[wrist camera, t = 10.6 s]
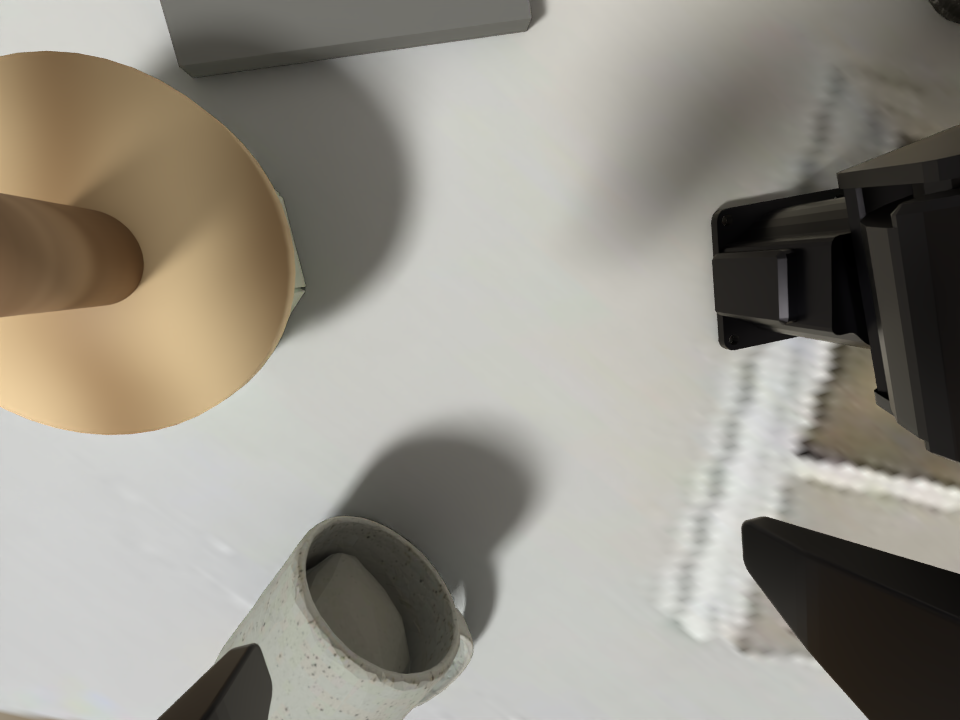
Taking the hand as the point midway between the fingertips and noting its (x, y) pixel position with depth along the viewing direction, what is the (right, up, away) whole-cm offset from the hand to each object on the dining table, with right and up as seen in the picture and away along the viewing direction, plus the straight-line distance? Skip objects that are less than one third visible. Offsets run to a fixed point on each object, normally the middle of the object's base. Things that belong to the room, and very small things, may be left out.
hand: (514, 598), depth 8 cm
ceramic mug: (-6, -7, +14) cm, 17 cm away
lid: (-12, +8, +6) cm, 16 cm away
